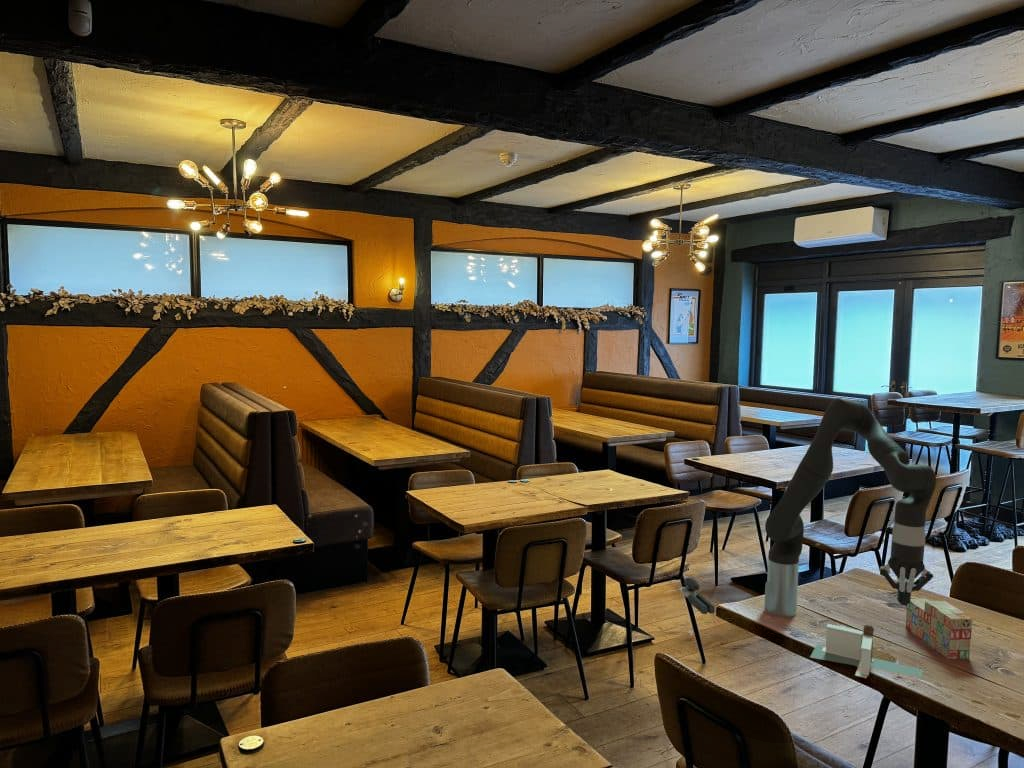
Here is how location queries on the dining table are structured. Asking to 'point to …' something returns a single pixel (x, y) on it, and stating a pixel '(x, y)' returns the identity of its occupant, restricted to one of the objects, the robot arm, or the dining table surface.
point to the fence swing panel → (866, 654)
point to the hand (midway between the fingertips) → (903, 604)
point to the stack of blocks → (940, 627)
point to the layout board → (875, 663)
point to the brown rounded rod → (869, 634)
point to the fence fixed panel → (844, 641)
